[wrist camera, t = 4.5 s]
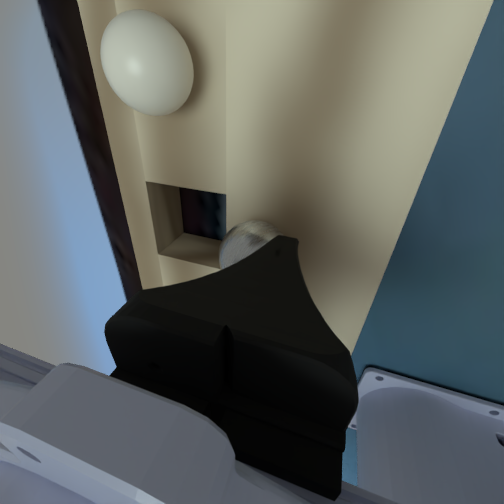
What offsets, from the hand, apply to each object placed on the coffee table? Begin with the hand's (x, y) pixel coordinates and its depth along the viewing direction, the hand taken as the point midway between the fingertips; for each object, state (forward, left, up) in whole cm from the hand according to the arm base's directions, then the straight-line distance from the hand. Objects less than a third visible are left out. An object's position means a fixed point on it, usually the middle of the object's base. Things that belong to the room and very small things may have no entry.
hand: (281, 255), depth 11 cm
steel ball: (+1, 0, 0) cm, 1 cm away
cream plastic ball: (+5, -7, 0) cm, 9 cm away
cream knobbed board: (+2, 0, -4) cm, 5 cm away
